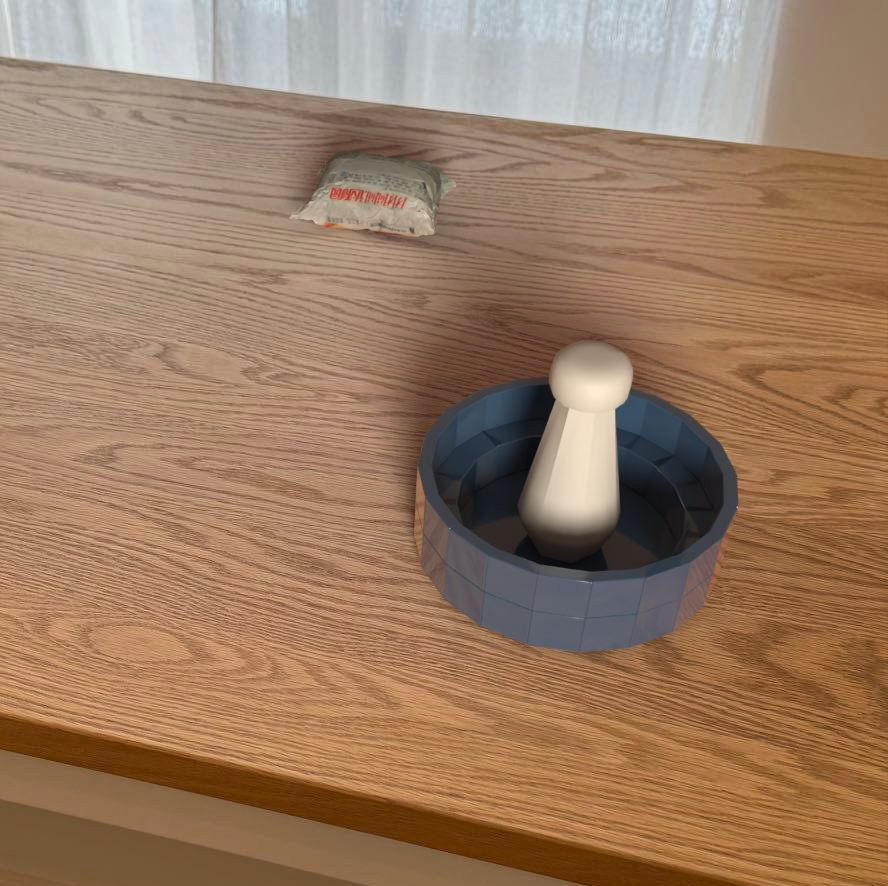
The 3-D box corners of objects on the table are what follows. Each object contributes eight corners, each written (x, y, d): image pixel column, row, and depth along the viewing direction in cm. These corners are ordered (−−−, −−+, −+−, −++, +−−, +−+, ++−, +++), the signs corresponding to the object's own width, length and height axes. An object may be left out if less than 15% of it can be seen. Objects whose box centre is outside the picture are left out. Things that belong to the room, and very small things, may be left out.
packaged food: (434, 259, 97) (437, 201, 94) (288, 239, 99) (287, 181, 96) (456, 207, 103) (459, 151, 100) (318, 189, 105) (318, 134, 102)
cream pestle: (601, 584, 70) (639, 400, 61) (503, 559, 72) (526, 376, 63) (621, 518, 74) (659, 337, 65) (528, 496, 76) (553, 316, 67)
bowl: (714, 471, 78) (734, 395, 74) (717, 682, 66) (742, 604, 62) (438, 436, 81) (443, 360, 77) (391, 632, 68) (394, 554, 64)
